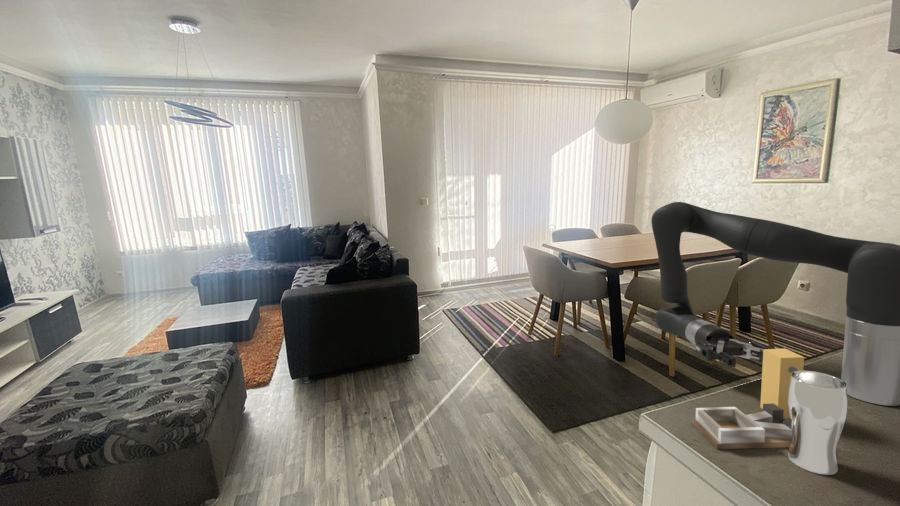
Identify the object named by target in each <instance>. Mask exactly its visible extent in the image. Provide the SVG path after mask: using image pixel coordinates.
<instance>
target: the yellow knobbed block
mask: <svg viewBox="0 0 900 506" xmlns="http://www.w3.org/2000/svg"><path fill="white" fill-rule="evenodd" d="M804 362H805V357H804V356H802V355H800V354H799V353H796V352H794V351H792V350H789V349H787V348H770V349H763V362H762V367H761V368H762V369H761V387H760V388H761V389H760V403H759V404H760V408H761V409H762V410H763V404H772V403H774V404H775V405H777V406H778V407H780V408H781V409H783V410H784V413H783V420H784V418H790V416H789V409H788V392H789V385H790V380H791V373H792V372H794V371H800V370H804V366H805V365H804V364H805V363H804Z"/></svg>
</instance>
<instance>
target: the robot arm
mask: <svg viewBox="0 0 900 506" xmlns="http://www.w3.org/2000/svg"><path fill="white" fill-rule="evenodd" d="M651 228H652V233H653V237H654V241H655V246H656V247H655V248H656V252H657V257H658V263H659V264H658V265H659V274H660V275H659V276H660V278H659V279H660V297H661V299H662V301H664V302H665V303H666V302H667V303H668V304H669V303H671V304H676V306H671V307H664V308H660V309H658V310H657V311H656V313H655V315H654V320H655V324H656V325H657V326H658V328H659V329H660V330H662V331H663V332H665V333H667V334H671V335H674V336H677V337H683V338H684V339H685V340H687V341H689V342H690V343H691V345H694V346H695V352H696V353H697V354H698V355H700V356H702V357H703V358H704V359H705V360H706V361H713V360H715V361H716V362H719V363H720V362H721V363H723V364H725V365H726V366H728V367H730V368H736V364H737V363H736V362H737V361H736V358H735V357H740V358H743V359H748V360H750V359H755V360H759V361H760V362H762V363H763V349H771V348H770V347H768V346H766V345H763V344H761V343H759V342H757V341H755V340H752V339H747V341H746V342H742V341H740V340H737V339H735V338H734V337H733V335H732V333H731V332H730V331H728V330H727V329H724V328H722V327H720V326H718V325H716V324H714V323H712V322H709V321H707V320H705V319H702V318H700V317H698V316H696V315H695V314H694V310H693V308H692V305H691V302H690V299H689V295H688V290H689V289H688V274H687V270H686V267H685V264H684V261H683V259H682V256H681V248H680V245H681V238H682V234H683V233H690V234H697V235H701V236H706V237H708V238H712V239H715V240H717V241H719V242H720V243H722V244H724V245H725V246H727V247H729V248H731V249H733V250H734V251H737V252H740V253H744V254H747V255H750V256H753V257H758V258H763V259H766V260H772V261H777V262H778V261H779V262H785V263H787V262H788V263H794V264H795V263H797V264H807V265H814V266H815V265H816V266H820V267H825V268H829V269H832V270H834V271H838V272H839V271H840V272H842V273H846V274H847V281H846V293H845V294H846V295H845V296H846V298H845V304H846V314H845V327H844V337H843V338H844V339H843V340H844V341H843V352H842V353H843V354H842V364H841V376H840V379H841V380H842V381H844V382H845V383H846V384H847V396H849V397H852V398H853V399H857V400H860V401H863V402H866V403H870V404H874V405H879V406H888V407H889V406H891V407H895V406H900V245H899V244H895V243H890V242H881V241H871V240H865V239H864V240H862V239H855V238H848V237H847V238H846V237H840V236H835V235H831V234H825V233H822V232H819V231H815V230H812V229H811V230H810V229H807V228H804V227H799V226H795V225H790V224H786V223H783V222H778V221H773V220H767V219H762V218H758V217H757V218H756V217H751V216H745V215H738V214H732V213H726V212H720V211H719V212H718V211H715V210H710V209H707V208H705V207H700V206H697V205H695V204H694V205H693V204H690V203H687V202H682V201H674V202H670V203H668V204H665V205H663V206H661V207H658V208H657V209H656V210H654V212H653V214H652V216H651ZM744 349H746V353H744V351H745V350H744Z"/></svg>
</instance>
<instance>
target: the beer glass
mask: <svg viewBox="0 0 900 506" xmlns="http://www.w3.org/2000/svg"><path fill="white" fill-rule="evenodd" d="M788 409H789V416H790V422H791V428H792V442H791V445H790V447H788V450H787V451H788V452H787V457H788V459H789V460H790V461H791V462H792V463H793V464H794V465H796V466H798V467H799V468H801V469H803V470H805V471H808V472H811V473H813V474H817V475H823V476H832V475H836V474H837V473H838V470H839V467H838V461H837V456H836V454H837V453H836V452H837V451H836V449H837V444H838V442H839V440H840V437H841V434H842V431H843V428H844V425H845V422H846V419H847V413H848V395H847V384H846V383H845V382H844V381H842V380H841V378H839V377H836V376H833V375H831V374H828V373H823V372H819V371H816V370H815V371H813V370H805V369H803V370H800V371H794V372H792V373H791V380H790V385H789V392H788Z"/></svg>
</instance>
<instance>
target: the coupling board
mask: <svg viewBox="0 0 900 506" xmlns="http://www.w3.org/2000/svg"><path fill="white" fill-rule="evenodd" d="M783 413H784V410H783V409H781V408H780V407H778V406H777V405H775V404H774V403H772V404H763V409H762V411H759V412H754V413H750V414H745V413H744V412H742V411H741V410H740V409H738V408H737V407H736V406H718V407H717V406H716V407H715V406H714V407H711V406H710V407H695V418H692V419H691V425H692V426H693V427H694V428H695V429H696V430H697V431H698V432H699V433H700V434H701V435H702V436H703V437H704V438H705V439H706V440H707V441H708V442H709V443H710V444H711V445H712V446H713V447H714V448H715V449H717V450H729V449H732V450H733V449H739V450H741V449H770V448H771V449H773V448H774V449H776V448H778V449H779V448H790V445H791V442H792V428H791V422H790V418H784V419H783Z"/></svg>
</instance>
